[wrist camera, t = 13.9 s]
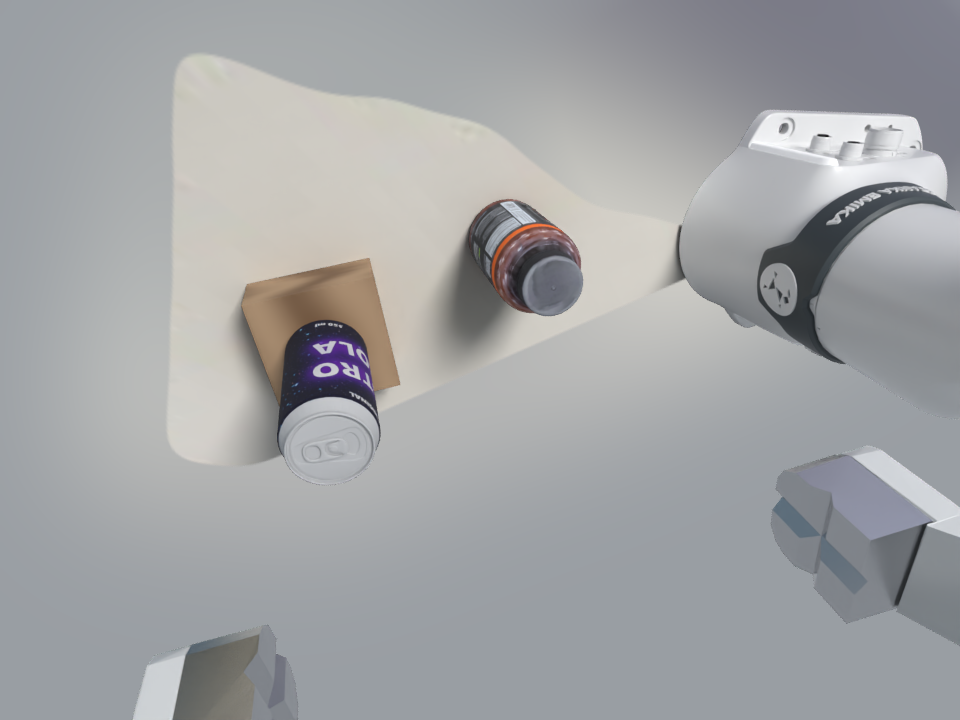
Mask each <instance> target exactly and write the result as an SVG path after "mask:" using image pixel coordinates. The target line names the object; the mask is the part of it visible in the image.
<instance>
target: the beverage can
mask: <svg viewBox="0 0 960 720" xmlns="http://www.w3.org/2000/svg"><path fill="white" fill-rule="evenodd" d="M379 441H380V424H379V419H378V412H377V406H376V400H375V394H374V388H373V382H372V376H371V370H370V364H369V358H368V352H367V347H366V344H365V342H364V340H363V338H362V337H361V335H360V334H359V333H358V332H357V331H356V330H355V329H353V328H352V327H351V326H349V325H347V324H345V323H342V322H339V321H334V320H318V321H314V322H311V323H308V324H306V325H304V326H302V327H301V328H299V329H298V330H297V331H296V332H295V333H294V334H293V335H292V336H291V337H290V339H289V341H288V343H287V345H286V348H285V355H284V366H283V377H282V388H281V399H280V410H279V421H278V432H277V442H278V447H279V449H280V452H281V454H282V455H283V457H284V458H285V461H286V463H287V465H288V467H289V468H290V470H291V471H292V472H293V473H294V474H295V475H296V476H298V477H299V478H301V479H303V480H305V481H307V482H310V483H314V484H318V485H336V484H340V483H344V482H347V481H350V480H352V479H353V478H356V477H357V476H359V475H360V474H361V473H362V472H364V471H365V470H366V468H367V467H368V466H369V465H370V463H371V461H372V459H373V457H374V454H375V451H376V449H377V447H378V444H379Z"/></svg>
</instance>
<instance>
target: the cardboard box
mask: <svg viewBox="0 0 960 720" xmlns="http://www.w3.org/2000/svg"><path fill="white" fill-rule="evenodd" d="M241 307H242V309H243V312H244V315H245V317H246V320H247V322H248V325H249V328H250V330H251V333H252V336H253V338H254V341H255V343H256V346H257V349H258V351H259V354H260V357H261V359H262V362H263V364H264V367H265V370H266V372H267V375H268V377H269V380H270V383H271V385H272V388H273V391H274V393H275V396H276V398H277V401H278V404H279V406H280V399H281V388H282V377H283V366H284V355H285V348H286V345H287V343H288V341H289V339H290V337H291V336H292V335H293V334H294V333H295V332H296V331H297V330H298V329H299V328H301V327H302V326H304V325H306V324H308V323H311V322H314V321H318V320H334V321H339V322H342V323H345V324H347V325H349V326H351V327H352V328H353V329H355V330H356V331H357V332H358V333H359V334H360V335H361V337H362V338H363V340H364V342H365V344H366V347H367V352H368V358H369V364H370V370H371V376H372V382H373V388H374V391H377V390H381V389H385V388H389V387H393V386H397V385H400V381H399V377H398V373H397V368H396V364H395V360H394V356H393V352H392V348H391V344H390V340H389V336H388V332H387V328H386V324H385V320H384V316H383V312H382V308H381V304H380V299H379V295H378V291H377V287H376V283H375V279H374V275H373V271H372V267H371V263H370V259H369V258H367V259H362V260H358V261H353V262H348V263H344V264H339V265H335V266H330V267H325V268H321V269H316V270H311V271H307V272H302V273H297V274H293V275H288V276H284V277H279V278H274V279H270V280H265V281H260V282H256V283H251V284H247V286H246V290H245V294H244V298H243V301H242V305H241Z"/></svg>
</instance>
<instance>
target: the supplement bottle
mask: <svg viewBox="0 0 960 720" xmlns="http://www.w3.org/2000/svg"><path fill="white" fill-rule="evenodd" d="M469 245H470V250H471V253H472V255H473V257H474V259H475V261H476V263H477V264H478V265H479V267H480V268H481V270H482V271H483V273H484V274H485V275H486V277H487V278H488V280H489V281H490V282H491V284H492V285H493V287H494V288H495V289H496V291H497V292H498V293H499V295H500V296H501V297H502V299H503V300H504V301H505V302H506V303H508V304H509V305H510V306H511V307H513V308H515V309H517V310H519V311H522V312H526V313H536V314H539V315H542V316H554V315H558V314H561V313H563V312H565V311H566V310H568V309H569V308H570V307H571V306H573V305H574V303H575V302H576V301H577V299H578V298H579V296H580V294H581V291H582V287H583V276H582V272H581V258H580V255H579V251H578V249H577V247H576V245H575V244H574V243H573V241H572V240H571V239H570V238H569V236H567V235H566V234H565V233H564V232H563V231H562V230H560V229H559V228H558V227H556V226H555V225H554V224H552V223H551V222H550V221H548V220H547V219H546V218H545V217H543V216H542V215H541V214H540V213H538V212H537V211H536V210H535V209H533V208H532V207H531V206H529V205H527V204H525V203H523V202H521V201H518V200H513V199H506V200H499V201H496V202H493V203H492V204H490V205H488V206H487V207H485V208H484V209H483V210H482V211H481V212H480V213H479V214H478V215H477V217H476V218H475V220H474V221H473V223H472V226H471V229H470V235H469Z"/></svg>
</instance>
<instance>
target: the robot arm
mask: <svg viewBox="0 0 960 720" xmlns="http://www.w3.org/2000/svg"><path fill="white" fill-rule="evenodd" d="M781 124H783V127H782V129H781V131H780V132H779V127H780V126H781ZM946 193H947V173H946V168H945V165H944V163H943V161H942V159H941V158H940V157H939V156H938V155H937V154H934V153H931V152H928V151H924V150H922V137H921V132H920V128H919V125H918V122H917V120H916V119H915V118H913V117H910V116H906V115H900V114H875V113H874V114H873V113H846V112H818V111H817V112H816V111H790V110H766V111H763V112H762V113H760V114H759V115H758V116H757V117H756V118H755V119H754V121H753V122H752V124H751V125H750V127H749V128H748V130H747V131H746V133H745V135H744V136H743V138H742V140H741V142H740V144H739V145H738V147H737V148H736V149H735V150H734V151H733V152H732V153H731V154H730V155H729V156H728V157H727V158H726V159H725V160H724V161H723V162H722V163H721V164H720V165H718V166H717V167H716V168H715V169H714V171H712V172H711V174H710V175H709V176H708V177H707V178H706V180H705V181H704V182H703V184H702V185H701V186H700V188H699V189H698V191H697V192H696V194H695V196H694V198H693V199H692V201H691V203H690V206H689V208H688V210H687V213H686V215H685V218H684V221H683V225H682V229H681V234H680V244H679V253H680V262H681V266H682V270H683V273H684V275H685V277H686V279H687V281H688V283H689V284H690V286H691V287H692V288H693V289H694V290H695V291H696V292H697V293H698V294H699V295H700V296H702V297H703V298H705V299H707V300H709V301H711V302H714V303H716V304H718V305H720V306H722V307H723V308H725V310H726V311H727V313H728V314H729V316H730V317H731V319H733V321H734V322H735V323H737V324H740V325H741V326H743V327H747V328H748V327H752V326H755V325H757V326H759V327H761V328H763V329H765V330H767V331H769V332H771V333H773V334H775V335H777V336H779V337H781V338H783V339H785V340H787V341H789V342H791V343H793V344H796V345H804V346H805V348H806V349H808V350H809V351H811V352H813V353H815V354H817V355H819V356H823V357H825V358H827V359H829V360H830V361H833V362H837V363H840V364H847V365H849V366H851V367H852V368H854V369H855V370H857V371H859V372H860V373H862V374H863V375H865V376H867V377H868V378H870V379H872V380H873V381H875V382H876V383H878V384H879V385H881V386H883V387H884V388H886V389H888V390H889V391H891V392H892V393H894V394H896V395H897V396H899V397H900V398H902V399H903V400H905V401H907V402H908V403H910V404H912V405H913V406H915V407H916V408H918V409H919V410H921V411H923V412H926V413H928V414H931V415H934V416H937V417H942V418H949V419H960V212H959V211H956V210H955V209H954V208H953V207H952V206H951V205H949V204H948V203H947V202H945V200H946ZM776 490H777V491H778V492H779V493H780V494H781V496H782V498H781V499H780V501H779V502H778V503H777V504H776V506H775V507H774V508H773V510H772V518H771V527H772V530H773V534H774V537H775V540H776V542H777V544H778V546H779V547H780V549H781V551H782V552H783V554H784V555H785V556H786V557H787V558H788V559H789V561H790V562H791V563H792V564H793V565H794V566H795V567H798V568H800V569H802V570H804V571H807V572H809V573H811V574H813V581H814V589H815V590H816V591H817V592H818V593H819V594H820V595H821V596H822V597H823V599H824V600H825V601H826V602H827V603H828V604H829V605H830V606H831V607H832V608H833V609H834V611H835V612H836V613H837V614H838V615H839V616H840V617H841V618H842V619H843V620H844V622H846V624H847V623H850V622H853V621H857V620H860V619H863V618H866V617H869V616H873V615H876V614H880V613H883V612H886V611H889V610H893V609H896V608H897V612H898V613H900V614H902V615H904V616H906V617H908V618H909V619H911V620H913V621H915V622H917V623H919V624H920V625H922V626H924V627H926V628H928V629H930V630H932V631H933V632H935V633H937V634H939V635H941V636H943V637H944V638H946V639H948V640H950V641H952V642H954V643H956V644H957V645H959V646H960V508H959V507H958V506H957V505H955V504H954V503H953V502H951V501H950V500H949V499H947V498H946V497H945V496H943V495H942V494H940V493H939V492H938V491H936V490H935V489H934V488H932V487H931V486H930V485H928V484H927V483H925V482H924V481H923V480H921V479H920V478H919V477H917V476H916V475H914V474H913V473H912V472H910V471H909V470H908V469H906V468H905V467H903V466H902V465H901V464H899V463H898V462H897V461H895V460H894V459H892V458H891V457H890V456H888V455H887V454H886V453H884V452H883V451H882V450H880V449H877V448H875V447H872V446H869V445H868V446H865V447H861V448H858V449H855V450H851V451H848V452H845V453H841V454H839V455H833V456H829V457H826V458H823V459H820V460H816V461H813V462H810V463H807V464H804V465H801V466H797V467H794V468H791V469H788V470H785V471H783V472H782V473H781V474H780V476H779V477H778V480H777V485H776ZM132 720H298V701H297V692H296V684H295V680H294V676H293V673H292V670H291V667H290V665H289V663H288V661H287V659H286V657H283V656H281V655H278V654H276V637H275V636H274V634H273V632H272V630H271V629H270V627H269V625H263V626H259V627H256V628H252V629H248V630H245V631H241V632H238V633H233V634H230V635H226V636H222V637H218V638H215V639H211V640H207V641H203V642H200V643H196V644H192V645H189V646H186V647H182V648H179V649H175V650H172V651H168V652H165V653H161V654H157V655H154V657H153V658H152V659H151V661H150V663H149V664H148V666H147V667H146V669H145V673H144V676H143V681H142V684H141V688H140V692H139V695H138V699H137V703H136V706H135V710H134V714H133V718H132Z"/></svg>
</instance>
